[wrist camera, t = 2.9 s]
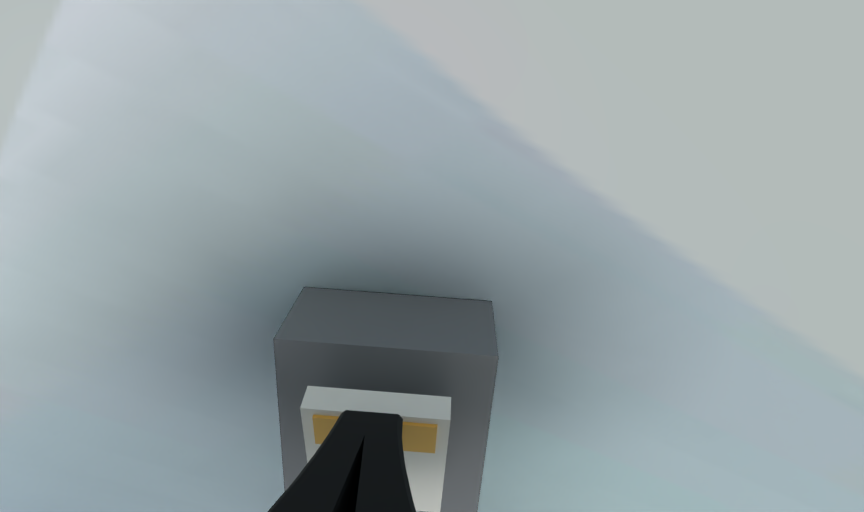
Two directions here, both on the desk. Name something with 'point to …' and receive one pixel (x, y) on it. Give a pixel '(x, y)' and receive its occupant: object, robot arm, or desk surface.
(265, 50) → the desk surface
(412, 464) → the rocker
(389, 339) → the power strip
